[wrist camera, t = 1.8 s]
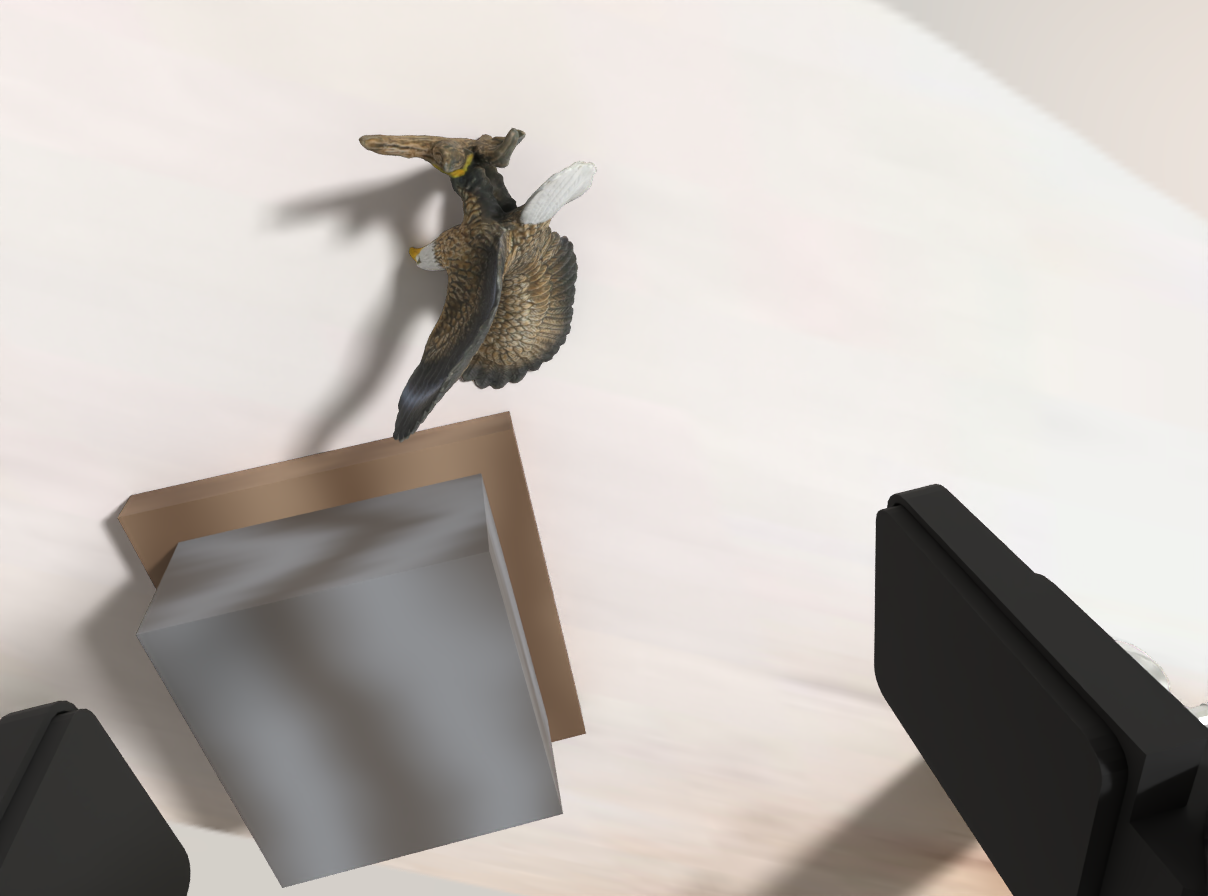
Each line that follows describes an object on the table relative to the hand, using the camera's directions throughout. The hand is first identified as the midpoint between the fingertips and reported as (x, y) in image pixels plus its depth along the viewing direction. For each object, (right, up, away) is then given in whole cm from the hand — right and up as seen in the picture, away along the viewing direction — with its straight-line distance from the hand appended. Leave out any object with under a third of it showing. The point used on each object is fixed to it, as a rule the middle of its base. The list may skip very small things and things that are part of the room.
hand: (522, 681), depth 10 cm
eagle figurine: (-3, +9, +19) cm, 21 cm away
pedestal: (-8, -4, +25) cm, 26 cm away
